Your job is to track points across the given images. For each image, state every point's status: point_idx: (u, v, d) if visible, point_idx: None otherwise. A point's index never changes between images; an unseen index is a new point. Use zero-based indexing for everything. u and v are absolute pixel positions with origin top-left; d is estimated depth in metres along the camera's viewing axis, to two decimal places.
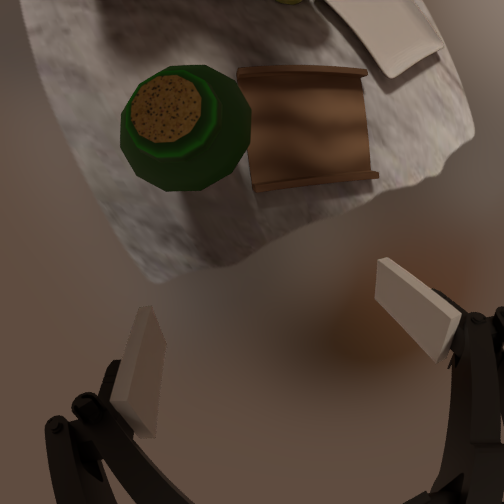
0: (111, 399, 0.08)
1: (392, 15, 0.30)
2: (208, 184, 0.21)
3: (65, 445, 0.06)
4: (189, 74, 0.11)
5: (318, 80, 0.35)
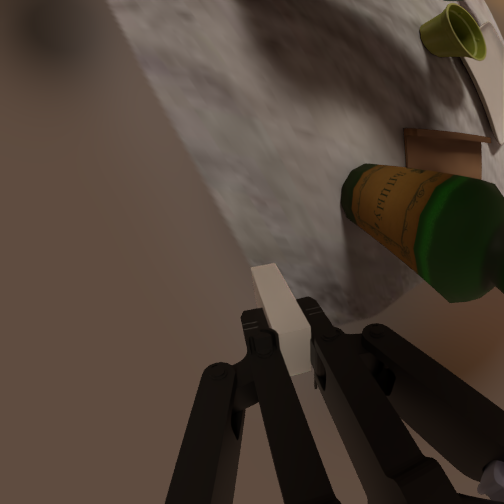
0: None
1: (497, 75, 0.27)
2: None
3: (222, 395, 0.08)
4: None
5: (458, 144, 0.32)
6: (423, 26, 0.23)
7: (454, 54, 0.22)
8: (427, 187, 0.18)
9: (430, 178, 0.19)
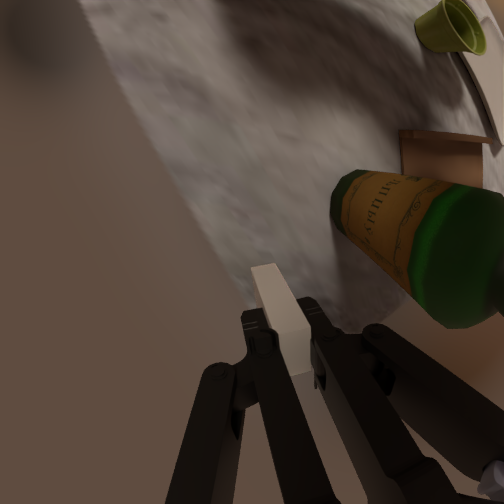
0: None
1: (497, 72, 0.25)
2: None
3: (222, 395, 0.08)
4: None
5: (458, 145, 0.30)
6: (418, 20, 0.22)
7: (452, 49, 0.20)
8: (424, 198, 0.16)
9: (427, 187, 0.17)
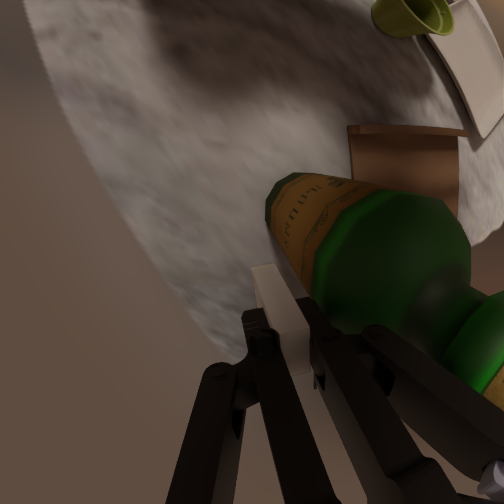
0: None
1: (478, 58, 0.24)
2: None
3: (223, 395, 0.08)
4: None
5: (425, 140, 0.29)
6: (375, 3, 0.21)
7: (412, 31, 0.19)
8: (332, 210, 0.15)
9: (343, 195, 0.16)
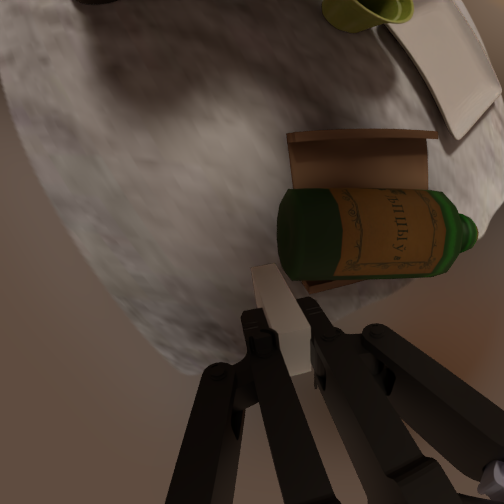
0: None
1: (455, 52, 0.24)
2: None
3: (222, 396, 0.08)
4: None
5: (384, 144, 0.29)
6: None
7: (363, 23, 0.19)
8: (434, 207, 0.23)
9: (422, 198, 0.24)
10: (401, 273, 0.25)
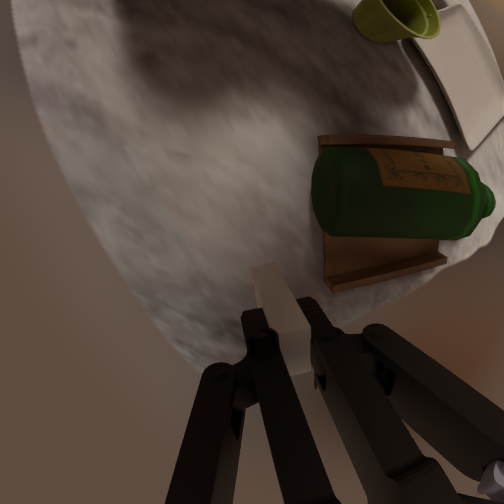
0: None
1: (470, 66, 0.25)
2: None
3: (222, 395, 0.08)
4: None
5: None
6: (357, 7, 0.21)
7: (393, 35, 0.20)
8: None
9: None
10: (445, 190, 0.21)
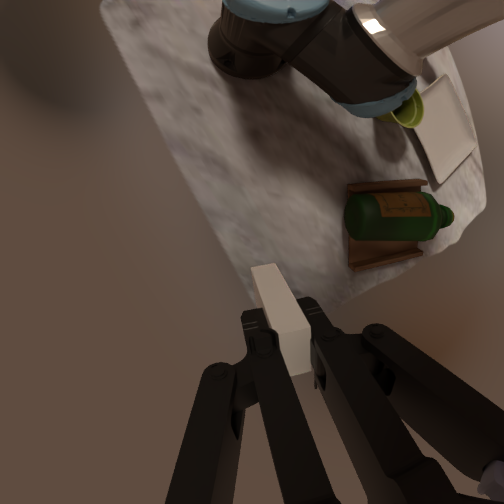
0: None
1: (446, 122, 0.48)
2: (431, 238, 0.49)
3: (222, 395, 0.08)
4: None
5: (396, 189, 0.53)
6: None
7: (394, 122, 0.43)
8: (411, 192, 0.49)
9: None
10: (414, 216, 0.44)
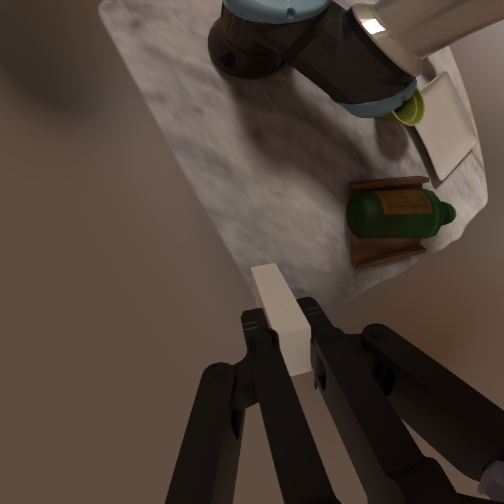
0: None
1: (447, 119, 0.48)
2: (433, 235, 0.49)
3: (222, 396, 0.08)
4: None
5: (398, 186, 0.52)
6: None
7: (395, 120, 0.43)
8: (413, 189, 0.49)
9: None
10: (416, 213, 0.44)
